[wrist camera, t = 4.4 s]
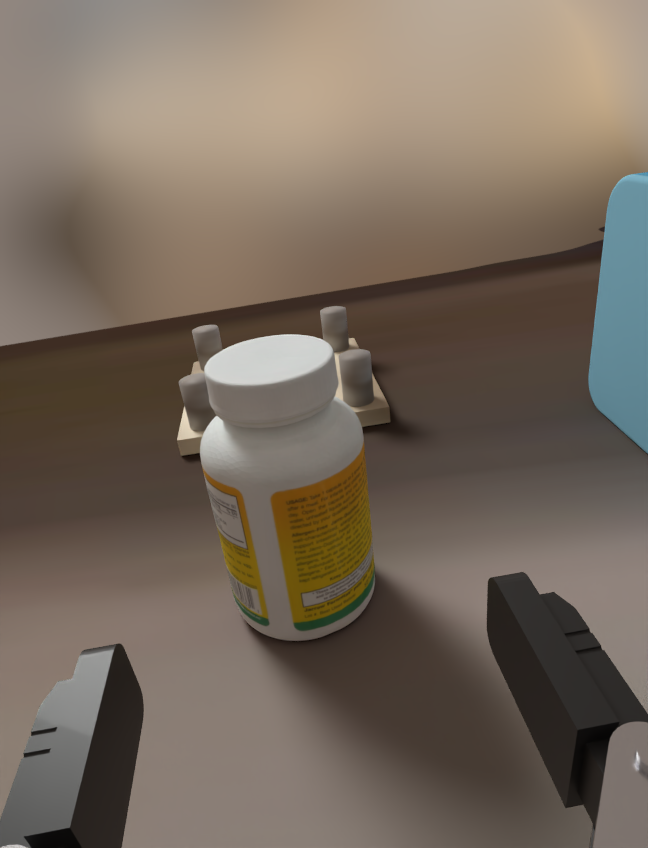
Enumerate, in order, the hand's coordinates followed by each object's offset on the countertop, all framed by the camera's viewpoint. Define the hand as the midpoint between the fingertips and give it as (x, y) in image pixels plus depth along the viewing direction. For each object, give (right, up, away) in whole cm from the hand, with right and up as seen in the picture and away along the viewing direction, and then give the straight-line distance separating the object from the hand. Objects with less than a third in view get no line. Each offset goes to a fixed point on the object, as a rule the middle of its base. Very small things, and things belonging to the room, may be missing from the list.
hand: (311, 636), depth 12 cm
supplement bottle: (0, -2, +10) cm, 10 cm away
